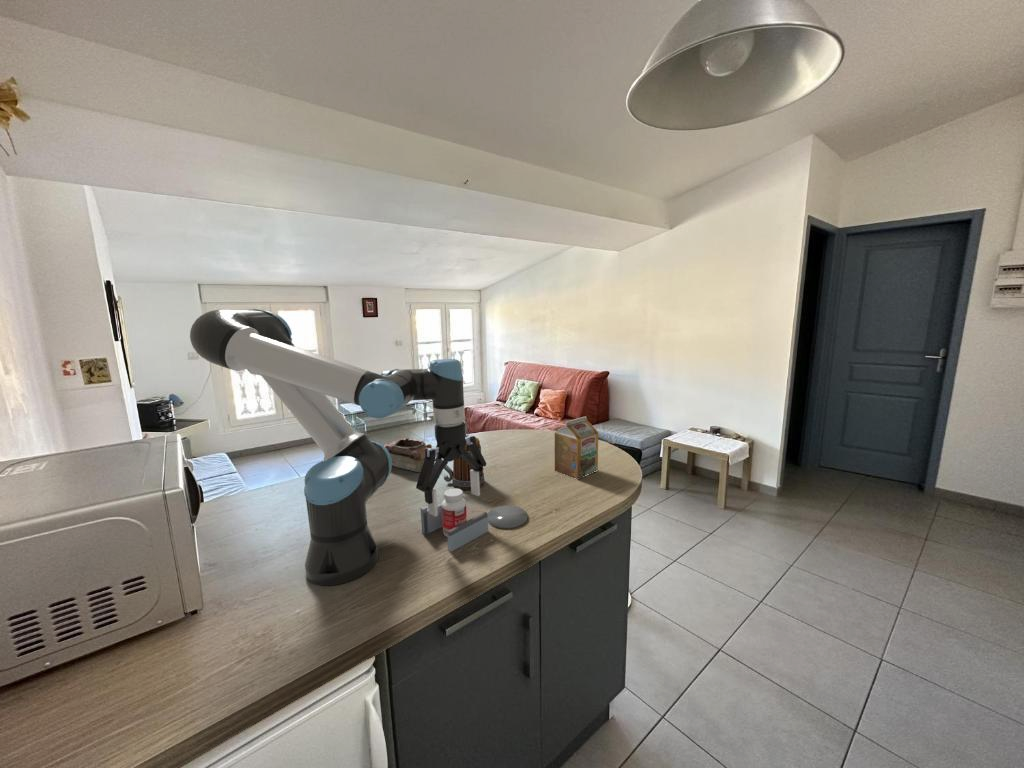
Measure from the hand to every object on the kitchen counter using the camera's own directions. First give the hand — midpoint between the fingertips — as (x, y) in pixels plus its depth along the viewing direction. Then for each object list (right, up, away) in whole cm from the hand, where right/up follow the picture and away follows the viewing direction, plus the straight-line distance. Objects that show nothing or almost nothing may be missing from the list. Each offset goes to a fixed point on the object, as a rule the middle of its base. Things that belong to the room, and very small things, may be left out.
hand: (455, 503), depth 99 cm
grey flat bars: (0, -8, +1) cm, 8 cm away
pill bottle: (0, -8, +1) cm, 8 cm away
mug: (-3, -3, +31) cm, 31 cm away
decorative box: (-26, -1, +45) cm, 52 cm away
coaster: (+13, -6, +8) cm, 16 cm away
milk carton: (+37, 0, +39) cm, 53 cm away
